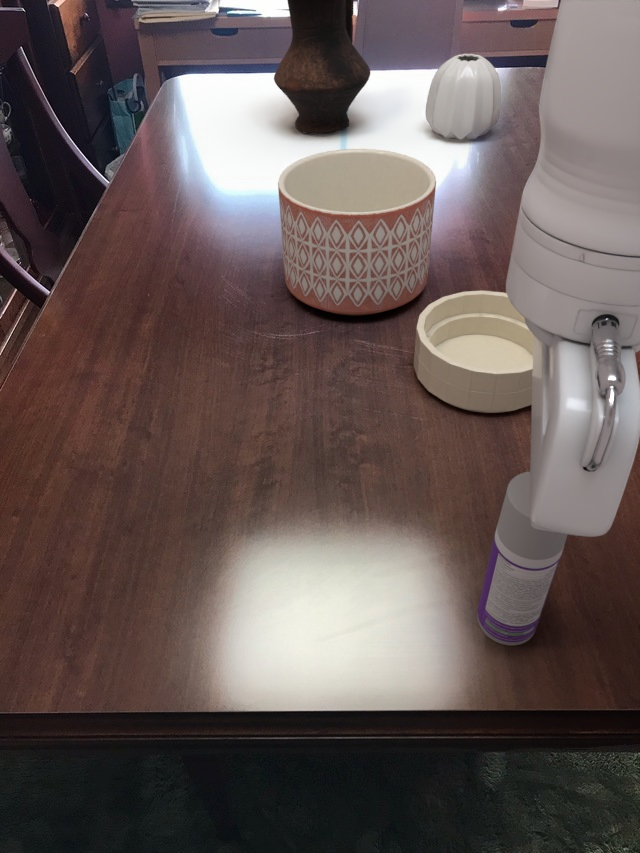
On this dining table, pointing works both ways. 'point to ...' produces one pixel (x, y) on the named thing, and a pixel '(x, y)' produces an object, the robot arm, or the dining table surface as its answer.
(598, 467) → the robot arm
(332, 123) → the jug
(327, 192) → the planter
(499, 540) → the container
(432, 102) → the vase
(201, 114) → the dining table surface
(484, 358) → the bowl
